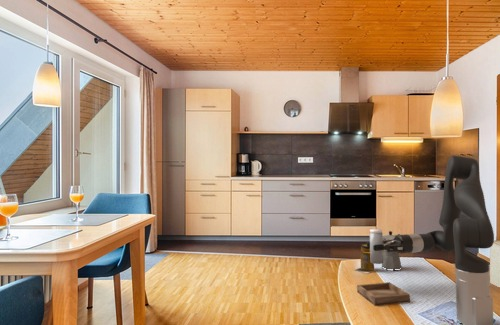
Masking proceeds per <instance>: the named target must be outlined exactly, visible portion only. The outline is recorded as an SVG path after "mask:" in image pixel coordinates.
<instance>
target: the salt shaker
mask: <svg viewBox="0 0 500 325" xmlns="http://www.w3.org/2000/svg"><path fill="white" fill-rule="evenodd" d="M383 236H384V234H383V230H382V229H381V228H370V229H369V242H370V261H371V263H374V265H375V264H376V265H380V264H381V265H382V263H384V262H383V255H384V251H383V250H379V251H374V250H373V245H380V244H382V245H383Z"/></svg>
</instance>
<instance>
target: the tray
mask: <svg viewBox="0 0 500 325" xmlns="http://www.w3.org/2000/svg"><path fill="white" fill-rule="evenodd" d="M356 288H357V289H356V290H357V293H358V294H359V295H360V296H362V297H363V298H364V299H366V300H367V301H368V302H369V303H371V304H372V305H373V306H375V307H376V306H384V305H385V306H386V305H395V304H403V303H404V304H405V302H406V303H410V302H411V294H410V293H409V292H407V291H405V290H404V289H402V288H400V287H398V286H396V285H395V284H393V283H392V282H380V283H379V282H376V283H367V284H366V283H365V284H357V285H356Z"/></svg>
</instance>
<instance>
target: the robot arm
mask: <svg viewBox="0 0 500 325" xmlns="http://www.w3.org/2000/svg"><path fill="white" fill-rule="evenodd" d="M480 178H481V177H480V166H479V162H478V160H476V159H475V158H471V157H466V156H460V155H451V156H450V157H449V159H448V161H447V164H446V169H445V175H444V185H443V186H444V187H443V198H442V205H441V210H440V213H439V214H440V215H439V220H438V224H439V226H441V228H442V229H443V230H433V231H429V232H427V233H411V234H410V233H408V234H407V233H406V234H400V235H398V234H395V235H396V236H395V235H394V236H395V238H394V240H392V239H388V240H386V239H385V238H384V239H383V245H382V244H380V245H373V250H374V251H379V250H383V252H384V251H387V252H398V253H399V254H411V253H412V254H414V253H418V252H420V253H421V252H428V251H429V252H430V251H432V250H434V249H435V247H437V248H438V249H440V250H442V251H445V252H447V253H452V252H454V267H455V268H454V273H455V274H454V275H455V299H456V300H455V302H456V303H455V305H456V306H455V309H456V320H457V319H458V320H459V321H460V322H461V323H463V324H465V325H494V304H493V296H491V294H490V292H491V291H490V265H489V262H488V261H487V259H485V258H482V257H479V256H476V255H474V254H472V253H470V252H469V251H468V250H467V249H469V248H471V249H490V248H491V247H492V246H493V245H494V241H495V234H494V229H493V226H492V223H491V219H490V217H489V214H488V212H487V207H486V201H485V200H486V199H485V195H484V194H485V193H484V191H483V187H482V182H481V179H480ZM454 179H457V180H462V181H460V182H458V183H457V185H456V186H455V187H454V181H455V180H454ZM461 212H462V213H463V214H464V215H466V216H467V217H468V218H467V217H466V218H465V217H463V218H462V217H461ZM366 244H367V247H368V248H370V241H367V242H366Z"/></svg>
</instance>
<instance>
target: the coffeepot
mask: <svg viewBox="0 0 500 325" xmlns="http://www.w3.org/2000/svg"><path fill="white" fill-rule="evenodd" d="M396 235H401V234H399V233H398V234H394V235H393V231H391V230H389V231H388V234H386V235H383V239H384V238H385V239H386V240H388V239H392V240H394V238H395V236H396ZM399 254H400V253H398V252H387V251H383V262H384V263H382V264H381V268H382V267H384V268H386V269H393V270H395V269H400V268H401V267H402V262H401V256H400V255H399ZM401 269H402V268H401Z"/></svg>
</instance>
